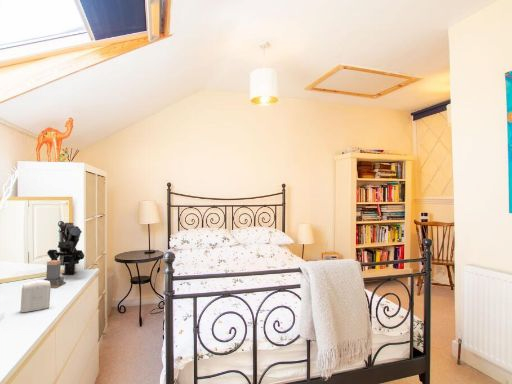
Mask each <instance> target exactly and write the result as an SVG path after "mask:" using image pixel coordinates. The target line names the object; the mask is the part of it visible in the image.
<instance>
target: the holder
mask: <svg viewBox="0 0 512 384" xmlns="http://www.w3.org/2000/svg"><path fill="white" fill-rule="evenodd" d="M43 280H46V278H44V279H43ZM47 281H50V285H51V289H57V288H58V289H59V288H60V287H62V286H64V285H66V283H67V281H65V277H64V276H60V279H57V280H47Z"/></svg>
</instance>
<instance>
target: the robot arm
mask: <svg viewBox="0 0 512 384" xmlns="http://www.w3.org/2000/svg"><path fill="white" fill-rule="evenodd" d="M61 227H62V228H61ZM61 227H60V228H61V232H62V231H64V232H63V233H62V234H63V238H64V240H63V241H58V245H57V248H58V249H59V251H58V250H57V249H49V250H47V252H46V253H47V255H48V257H49V258H50V261H51V260H59V259H58V258H60V256H62V259H61V265H62V266H64V270H63V273H62V274H61V275H62V276H65V275H66V276H67V275H69V276H70V275H72V276H73V275H75V274H77V271H76V265H78V264H79V263H80V261H81V260H84V258H85V254H84V251H83V250H82V249H81V250H80V249H77V248H76V247H77V245H78V243H79V241H80V237H81V233H82V230H81V228H80V227H79V226H77V225H74V223H73V222H64V223H63V225H62V226H61Z"/></svg>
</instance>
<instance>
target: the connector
mask: <svg viewBox="0 0 512 384" xmlns="http://www.w3.org/2000/svg"><path fill="white" fill-rule="evenodd" d="M61 265H62V259H58V260H51V259H50V260H49V261H47V262H46V278H45V279H46V280H57V279H60V277H61Z"/></svg>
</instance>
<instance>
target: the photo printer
mask: <svg viewBox="0 0 512 384" xmlns="http://www.w3.org/2000/svg"><path fill="white" fill-rule="evenodd" d="M51 289H52V288H51V285H50V281H47V280H44V279H37V280H32V281H29V282H26V283H23V285H22V288H21V295H20V297H21V298H20V299H21V300H20V311H19V312H21V313H27V312H28V313H29V312H33V311H39V310H44V309H45V310H46V309H49V308H50V303H51Z"/></svg>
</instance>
